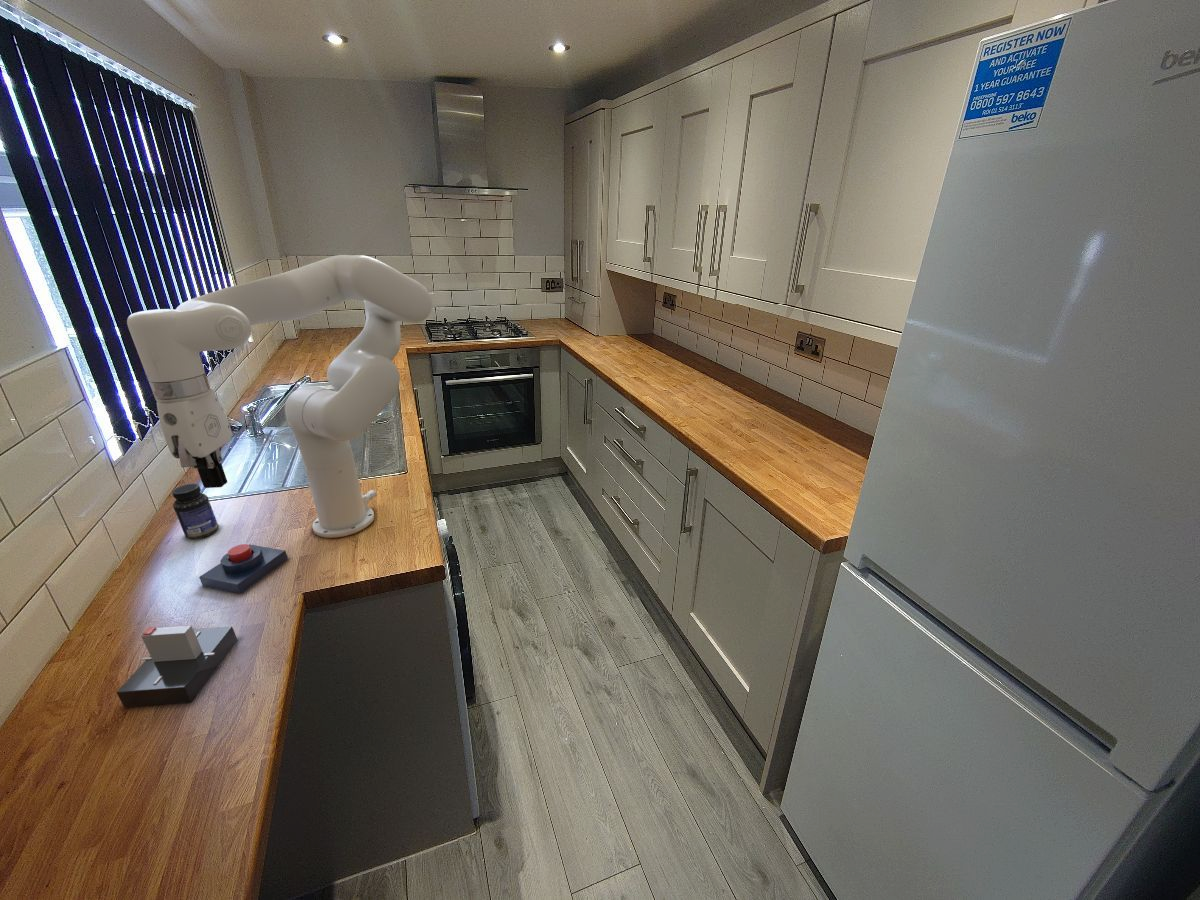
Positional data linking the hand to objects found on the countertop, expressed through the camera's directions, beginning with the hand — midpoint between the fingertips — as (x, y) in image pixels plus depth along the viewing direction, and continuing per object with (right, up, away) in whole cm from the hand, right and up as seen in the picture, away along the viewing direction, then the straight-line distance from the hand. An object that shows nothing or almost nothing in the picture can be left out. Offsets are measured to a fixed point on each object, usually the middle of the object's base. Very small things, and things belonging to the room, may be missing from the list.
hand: (216, 485), depth 94 cm
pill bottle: (-18, -12, +21) cm, 31 cm away
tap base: (+6, -27, -15) cm, 32 cm away
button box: (0, -17, +8) cm, 19 cm away
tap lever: (+6, -24, -16) cm, 30 cm away
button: (0, -14, +6) cm, 16 cm away
